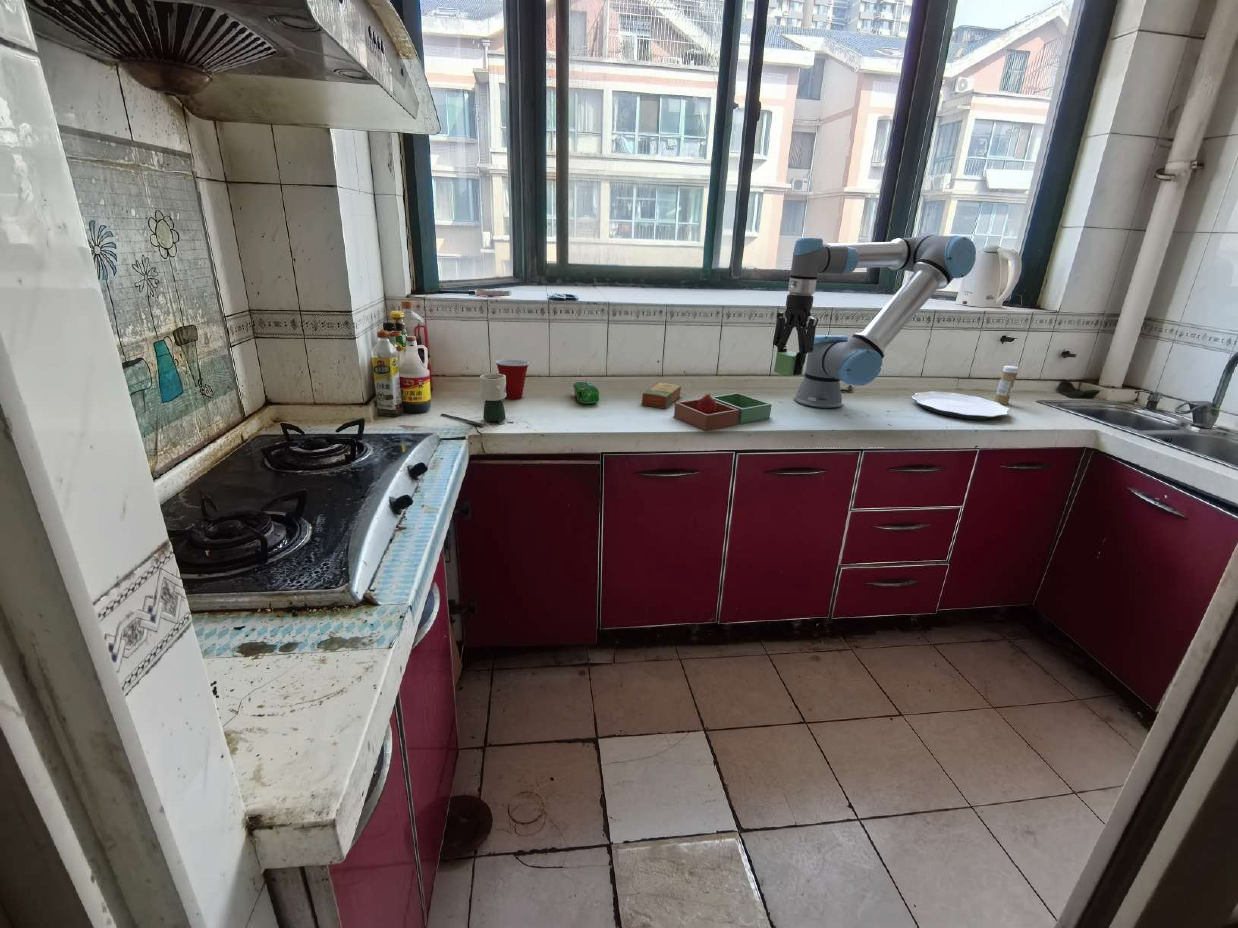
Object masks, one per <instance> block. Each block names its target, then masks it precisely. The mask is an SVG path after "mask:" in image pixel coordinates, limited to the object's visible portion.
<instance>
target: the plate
mask: <svg viewBox="0 0 1238 928" xmlns="http://www.w3.org/2000/svg"><path fill="white" fill-rule="evenodd" d="M911 400H914V401H915V402H917V403H918V404H919V405H920V406H921V408H924V409H925V410H928V411H930V412H932V413H936V414H940V415H943V416H947V417H952V418H958V419H966V420H975V421H976V420H981V421H984V420H985V421H987V420H993V419H997V418H1000V417H1005V416H1008V415H1009V413H1008V412H1011V411H1010V410H1011V409H1010V408H1009V407H1006V406H1005V405H1002V404H999V403H997V402H994V400H989V399H986V398H982V397H980V396H976V395H968V394H962V393H957V392H948V391H947V392H946V391H945V392H944V391H935V390H934V391H933V390H932V391H930V390H929V391H925V392H924V391H922V392H915V393H914V395H912V396H911Z"/></svg>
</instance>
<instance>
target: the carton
mask: <svg viewBox="0 0 1238 928" xmlns="http://www.w3.org/2000/svg"><path fill="white" fill-rule="evenodd" d="M681 389H682V387H681V385H680V384H673V383H667V382H666V383H665V382H657V383H656V384H654V385H653V386H651V387H650V388H648V389H647V390H644V392H642V398H641V405H642V406H648V407H652V408H653V407H654V408H660V409H668V407H669V406H671V405H672V404H673V403H675V402H676V400H678V399H679V398H680V397H681Z"/></svg>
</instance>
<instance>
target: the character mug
mask: <svg viewBox="0 0 1238 928" xmlns="http://www.w3.org/2000/svg"><path fill="white" fill-rule="evenodd" d="M479 385H480V397H481V399H482V400H484V405H483V420H484V421H488V422H496V423H497V422H498V421H504V420H506V418H507V417H506V409H505V405H504V402H503V400H504V399H506V398H505V397H506V376H505V375H503V374H499V373H484V374H481V375H480V376H479Z"/></svg>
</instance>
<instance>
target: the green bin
mask: <svg viewBox="0 0 1238 928" xmlns="http://www.w3.org/2000/svg"><path fill="white" fill-rule="evenodd" d="M711 397H712V398H713V399H714V400H715V401H716V402H719V403H722V404H724V405H727V406H730V407H732V408H735V409H738V410H739V414H738V422H737V424H739V425H742V424H748V423H752V422H758V421H762V420H767V419H770V417H771V412H772V403H770V402H766V401H763V400H761V399H758V398H755V397H752V396H749V395H746V394H743V393H740V392H734V393H727V394H721V395H714V396H711Z"/></svg>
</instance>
